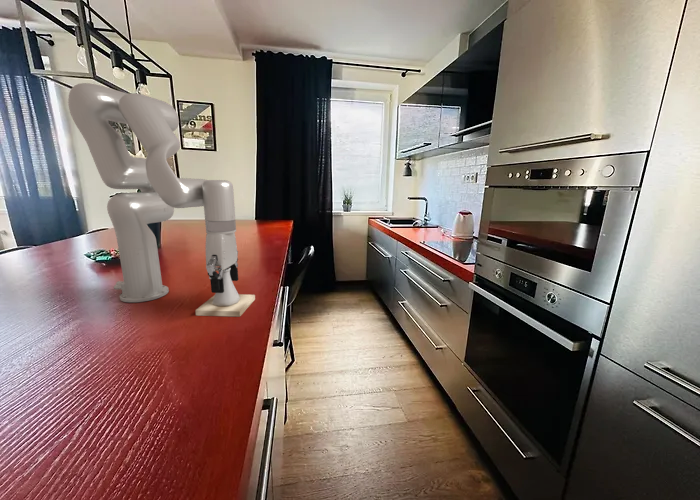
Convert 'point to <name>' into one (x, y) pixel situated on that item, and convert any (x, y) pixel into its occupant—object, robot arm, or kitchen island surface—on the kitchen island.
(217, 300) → the flask
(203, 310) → the birch board
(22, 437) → the kitchen island surface
